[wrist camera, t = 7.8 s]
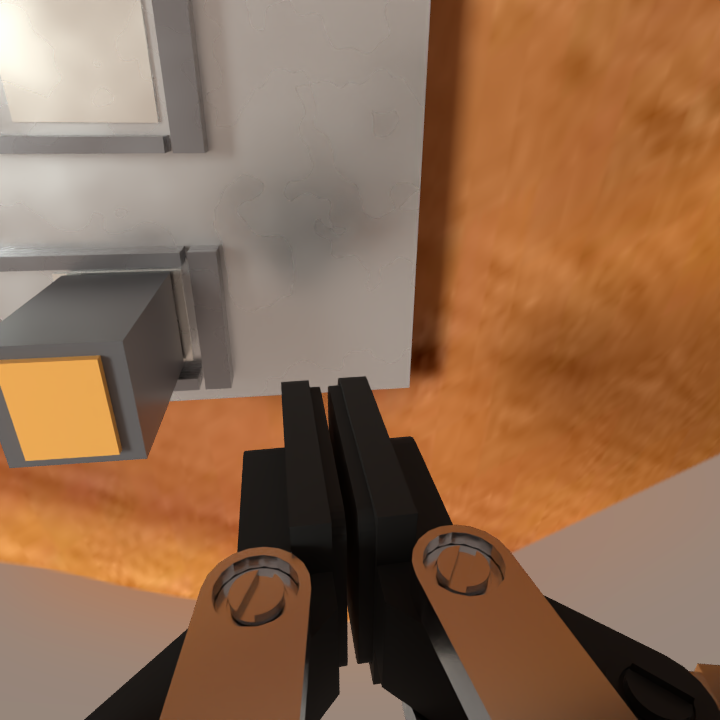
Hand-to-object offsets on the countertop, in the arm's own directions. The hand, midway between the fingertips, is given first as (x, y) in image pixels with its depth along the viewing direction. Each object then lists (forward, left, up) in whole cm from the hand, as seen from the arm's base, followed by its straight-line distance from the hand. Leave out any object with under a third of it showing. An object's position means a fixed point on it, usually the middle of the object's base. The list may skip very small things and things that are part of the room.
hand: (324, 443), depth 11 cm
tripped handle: (+6, 0, -7) cm, 9 cm away
